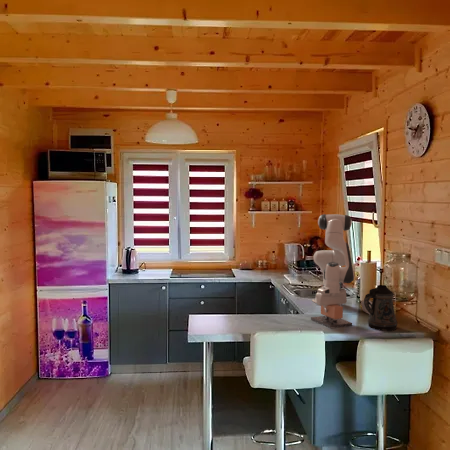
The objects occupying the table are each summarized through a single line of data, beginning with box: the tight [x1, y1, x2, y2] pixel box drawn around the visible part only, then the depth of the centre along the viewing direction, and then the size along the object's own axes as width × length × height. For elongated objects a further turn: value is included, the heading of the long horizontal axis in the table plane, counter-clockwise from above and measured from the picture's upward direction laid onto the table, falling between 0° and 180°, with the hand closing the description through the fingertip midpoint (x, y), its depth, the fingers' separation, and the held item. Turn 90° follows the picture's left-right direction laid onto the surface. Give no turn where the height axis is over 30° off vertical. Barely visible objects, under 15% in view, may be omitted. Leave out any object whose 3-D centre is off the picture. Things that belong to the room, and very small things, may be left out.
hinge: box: [360, 300, 372, 316], centre depth 311 cm, size 17×5×10 cm, turn 6°
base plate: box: [310, 315, 353, 328], centre depth 286 cm, size 20×16×5 cm
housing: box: [320, 305, 344, 319], centre depth 285 cm, size 14×6×7 cm, turn 23°
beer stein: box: [363, 284, 398, 332], centre depth 275 cm, size 16×19×25 cm
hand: (331, 311), depth 286 cm, fingers closed on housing, 6 cm apart
